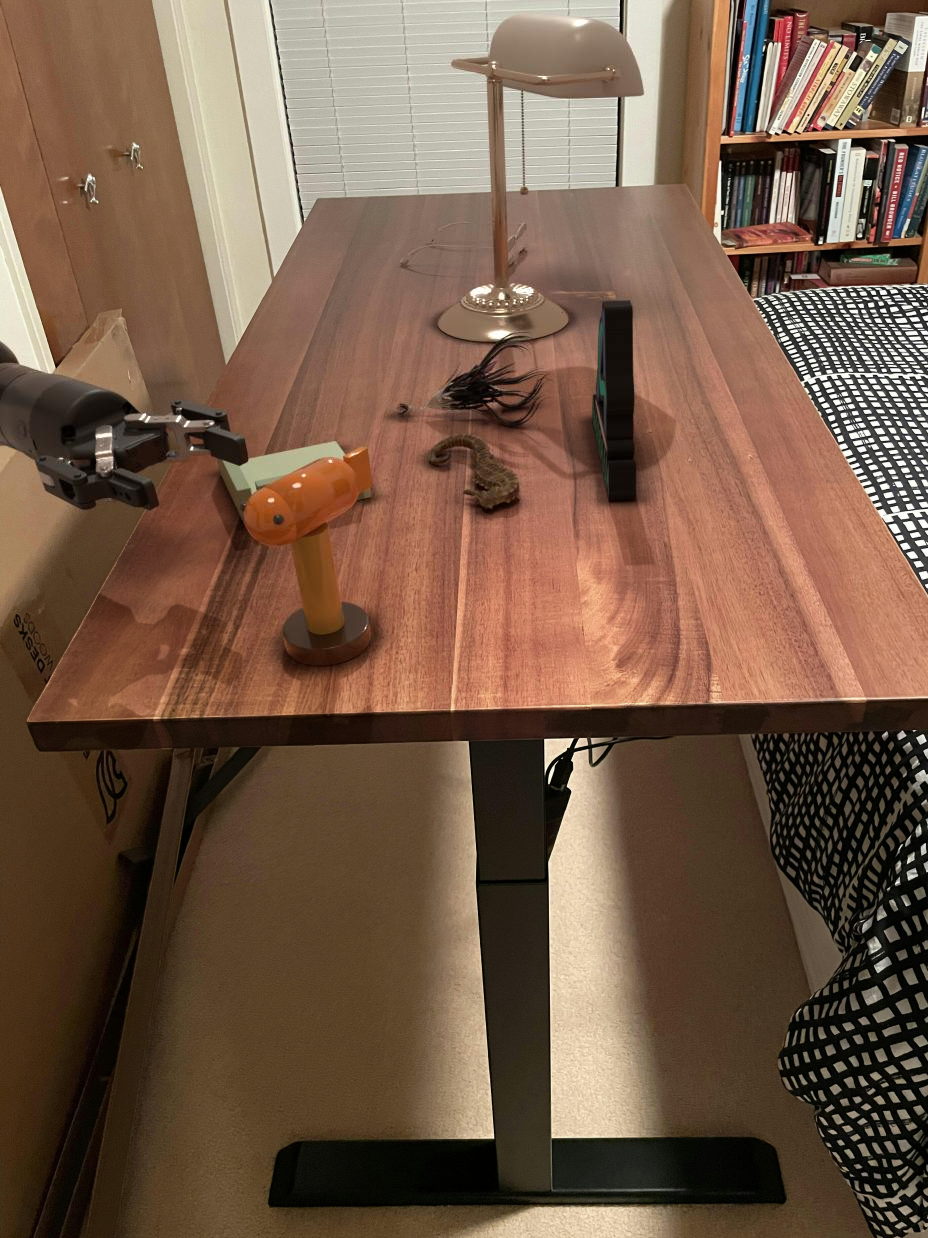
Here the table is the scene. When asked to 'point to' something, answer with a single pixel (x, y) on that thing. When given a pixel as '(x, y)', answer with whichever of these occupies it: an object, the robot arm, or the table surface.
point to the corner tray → (273, 470)
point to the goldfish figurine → (314, 553)
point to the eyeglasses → (510, 245)
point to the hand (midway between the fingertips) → (199, 473)
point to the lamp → (545, 65)
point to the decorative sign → (615, 400)
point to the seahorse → (481, 470)
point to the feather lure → (484, 387)
